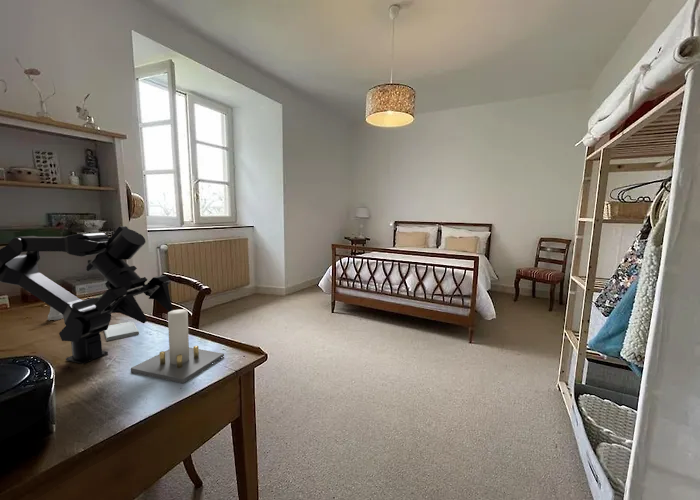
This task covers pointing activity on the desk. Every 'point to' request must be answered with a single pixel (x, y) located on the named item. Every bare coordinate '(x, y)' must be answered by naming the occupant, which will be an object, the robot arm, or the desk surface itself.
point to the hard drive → (120, 331)
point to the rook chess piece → (54, 314)
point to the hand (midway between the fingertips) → (159, 315)
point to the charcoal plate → (177, 365)
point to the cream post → (178, 335)
